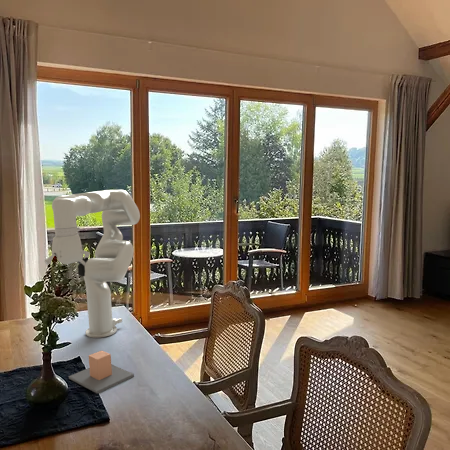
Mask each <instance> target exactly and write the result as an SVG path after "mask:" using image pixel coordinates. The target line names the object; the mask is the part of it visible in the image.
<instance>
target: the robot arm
mask: <svg viewBox="0 0 450 450" xmlns="http://www.w3.org/2000/svg"><path fill="white" fill-rule="evenodd" d="M51 208H52V211H53V221H54V223H53V224H54V233H55V235H54V237H53V238H52V245H51V255H50V256H49V257H47V258H46V259H44V263H45V264H46V265H47V267H48V265H49V264H51V263H52V259H53V257H54V256H56V257H57V259H58V261H59V262H61V263H63V264H66V265H70V264H71V265H72V264H74V263H75V264H76V263H78V265H77V269H78V270H77V271H78V276H80V277H83V280H84V284H85V289H86V300H87V301H86V303H87V304H86V305H87V317H88V328H87V329H85V335H86V336H87V337H88V338H95V339H97V338H106V337H110V336H113V335H114V334H115V333H117V330H118V328H117V324H120V323H122V322H123V318H121V317H119V318H113V312H112V311H113V310H112V309H113V307H112V296H111V294H112V293H111V288H110V286H109V285H108V283H107V282H109V283H110V282H112V283H113V282H114V283H115V282H120V281H122V280H124V278H125V276H126V274H127V272H128V270H129V268H130V265H131V262H132V260H133V257H134V246H133V243H132V242H130V241H129V240H124V236H123V233H122V232H121V231H120V229H119V228H118V226H132V225H133V226H134V225H137V224H138V223H139V221H140V219H141V213H140V210H139V207H138V205H137V204H136V203H135V201H134V199H133V197H132V195H131V194H130V193H129V192H128V191H127V190H124V189H104V190H97V191H89V192H82V193H74V194H73V193H72V194H65V195H59V196H56V197H55V198H54V199H53V200H52V203H51ZM100 212H102V213H101V221H102V227H103V234H102V237H101V239H100V240H99V242H98V244H97V246H96V248H95V251H94V256H95V257H91V258H90V255H91V252H89V251H87V250H84V249H83V246H82V241H81V238H80V235H79V233H78V232H79V231H81V228H80V227H78V225H77V224H78V223H77V217H82V216H83V217H84V216H87V215H88V214H97V213H100Z"/></svg>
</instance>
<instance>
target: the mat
mask: <svg viewBox="0 0 450 450" xmlns="http://www.w3.org/2000/svg"><path fill="white" fill-rule="evenodd" d="M111 367H112V375H110V376H108V377H105V378H103V379H101V380H97V379H95V378H93V377H91V376H90V368H89V367H88V368H86V369H84V370H81V371H78V372H75V373H74V374H73V373H72V374H71V375H68V379H69V380H71V381H73V382H74V383H76V384H78V385H80V386H82V387H84V388H86V389H88V390H90V391H92V392H93V393H95V394H99V393H101V392H104V391H106V390H108V389H110V388H112V387H114V386H116V385H118V384H121V383H123V382H125V381H127V380H129V379H131V378H134V377H135V376H134V375H135V374H134V373H133V372H130V371H128V370H126V369H124V368H122V367H119V366H117V365H114V364H112V363H111Z"/></svg>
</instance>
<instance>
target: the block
mask: <svg viewBox="0 0 450 450" xmlns="http://www.w3.org/2000/svg"><path fill="white" fill-rule="evenodd" d="M111 357H112V355H111V353H108V352H107V351H104V350H99V351H96V352H95V353H91V354H89V355H88V363H89V367H88V368H90V376H91V377H93V378H95V379H97V380H101V379H103V378H105V377H108V376H110V375H112V367H111V364H112V358H111Z"/></svg>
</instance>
